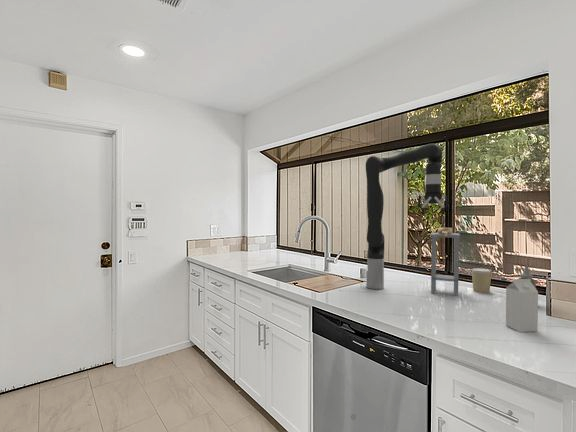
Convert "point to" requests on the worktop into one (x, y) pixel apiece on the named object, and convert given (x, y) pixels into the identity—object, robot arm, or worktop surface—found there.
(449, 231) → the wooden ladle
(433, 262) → the grey stand
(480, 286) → the coffee cup
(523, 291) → the milk carton
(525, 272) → the squeeze bottle
